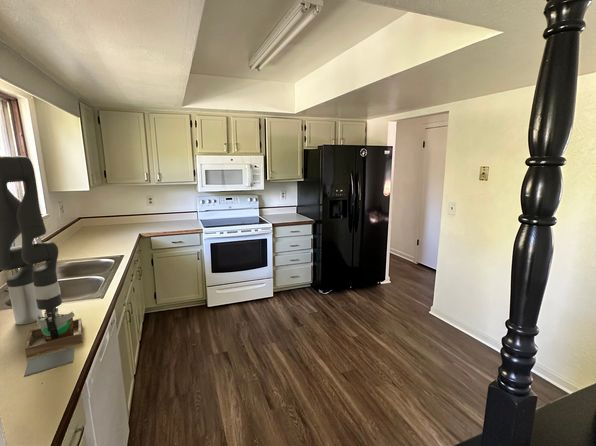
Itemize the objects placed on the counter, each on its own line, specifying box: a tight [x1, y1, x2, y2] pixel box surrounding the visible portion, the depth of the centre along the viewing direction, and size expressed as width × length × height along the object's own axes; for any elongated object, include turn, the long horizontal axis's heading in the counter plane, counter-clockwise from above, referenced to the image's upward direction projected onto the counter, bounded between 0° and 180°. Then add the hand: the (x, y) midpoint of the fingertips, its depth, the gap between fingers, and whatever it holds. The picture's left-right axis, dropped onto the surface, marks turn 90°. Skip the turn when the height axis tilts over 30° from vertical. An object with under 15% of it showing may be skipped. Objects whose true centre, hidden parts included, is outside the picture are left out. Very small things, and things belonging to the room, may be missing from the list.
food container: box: [36, 311, 76, 343], centre depth 123 cm, size 12×6×10 cm, turn 106°
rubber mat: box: [23, 346, 74, 378], centre depth 111 cm, size 10×13×1 cm
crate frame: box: [24, 318, 83, 358], centre depth 124 cm, size 15×17×4 cm
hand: (55, 334), depth 124 cm, fingers closed on food container, 5 cm apart
